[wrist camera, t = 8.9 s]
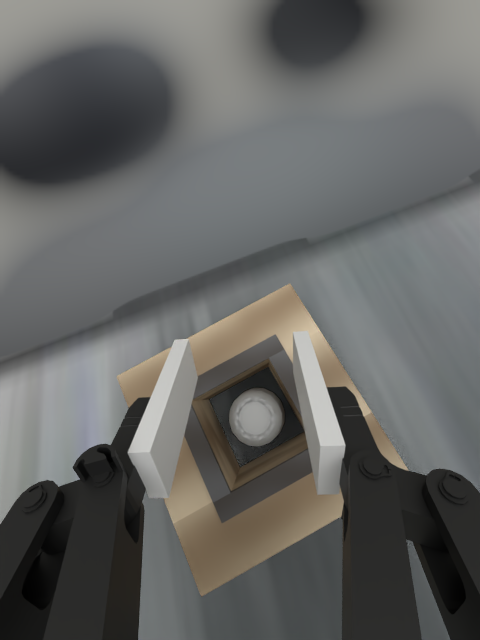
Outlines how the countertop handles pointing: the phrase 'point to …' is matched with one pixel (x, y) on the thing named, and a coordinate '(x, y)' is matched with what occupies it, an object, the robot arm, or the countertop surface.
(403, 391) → the countertop surface
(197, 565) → the socket block
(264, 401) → the rook chess piece
